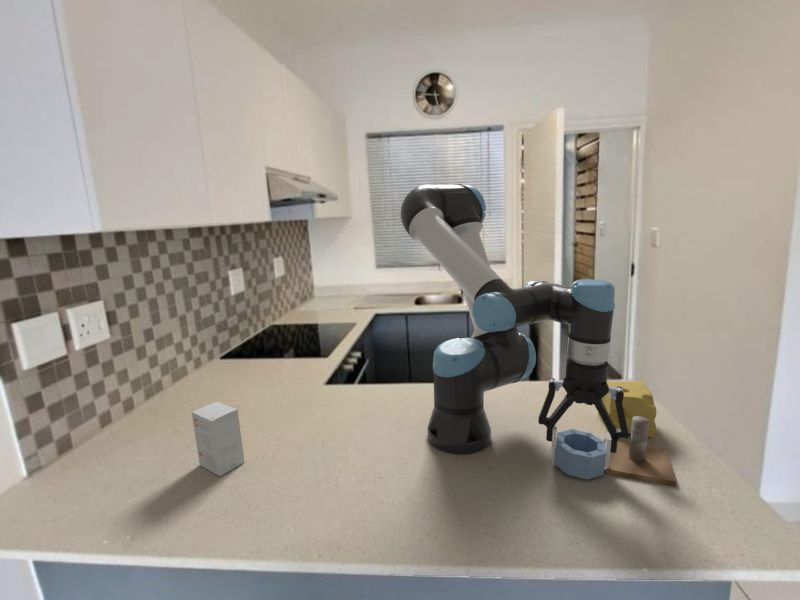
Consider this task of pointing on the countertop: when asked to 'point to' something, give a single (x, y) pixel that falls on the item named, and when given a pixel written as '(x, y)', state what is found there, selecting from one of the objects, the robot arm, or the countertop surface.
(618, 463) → the post
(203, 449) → the small box
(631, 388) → the cheese
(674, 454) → the countertop surface
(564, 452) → the ring
